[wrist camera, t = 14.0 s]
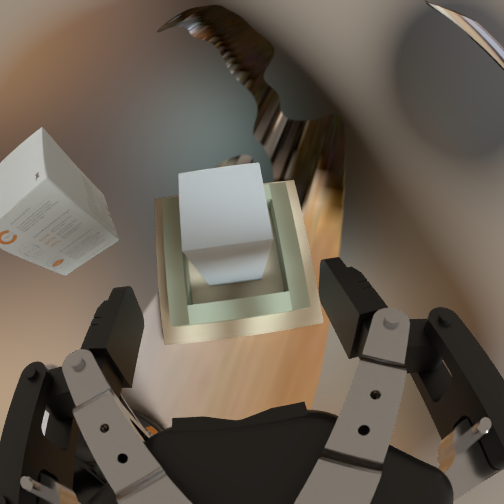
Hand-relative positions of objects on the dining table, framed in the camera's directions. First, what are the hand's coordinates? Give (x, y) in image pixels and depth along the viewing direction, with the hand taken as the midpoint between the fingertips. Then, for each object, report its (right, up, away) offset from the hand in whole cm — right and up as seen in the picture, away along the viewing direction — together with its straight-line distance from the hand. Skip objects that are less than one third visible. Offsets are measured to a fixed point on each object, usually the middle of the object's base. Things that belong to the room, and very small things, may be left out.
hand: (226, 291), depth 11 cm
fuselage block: (-1, +1, +13) cm, 13 cm away
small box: (-17, +3, +15) cm, 23 cm away
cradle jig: (-1, +1, +14) cm, 14 cm away
